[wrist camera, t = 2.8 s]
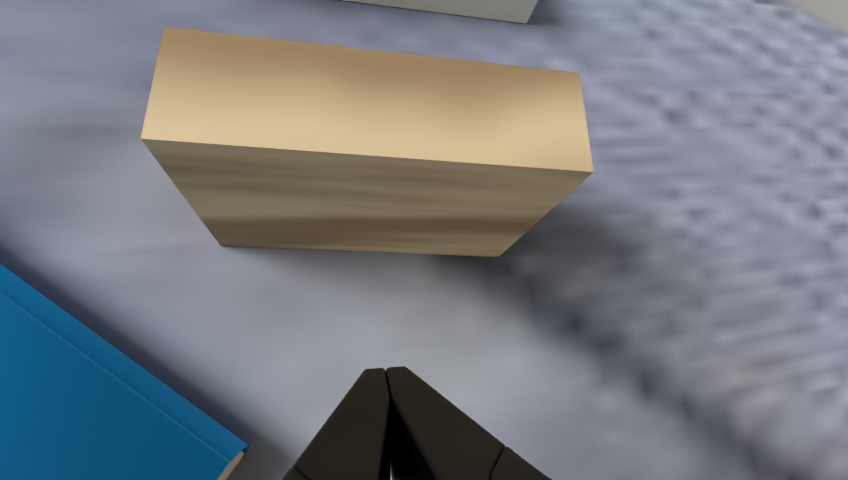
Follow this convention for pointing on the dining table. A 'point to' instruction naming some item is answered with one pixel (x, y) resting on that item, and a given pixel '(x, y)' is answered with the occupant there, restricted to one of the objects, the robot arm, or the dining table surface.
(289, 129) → the oak plank
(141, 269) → the dining table surface
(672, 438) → the dining table surface
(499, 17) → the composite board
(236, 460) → the book
